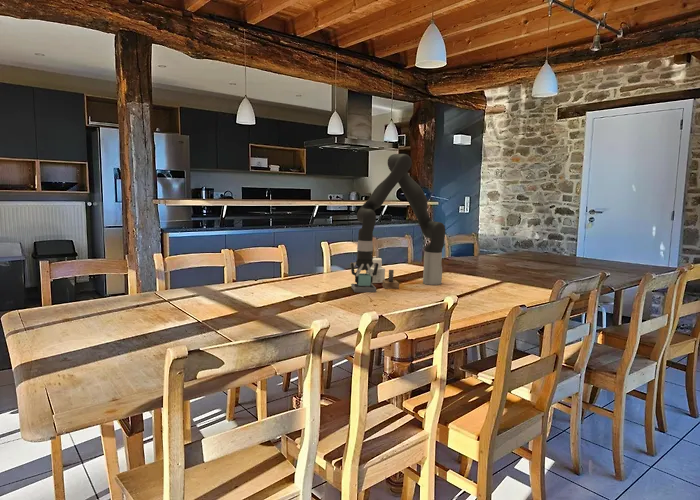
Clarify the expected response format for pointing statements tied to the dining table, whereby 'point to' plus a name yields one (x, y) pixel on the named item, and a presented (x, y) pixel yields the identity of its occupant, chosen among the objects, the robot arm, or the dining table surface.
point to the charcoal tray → (363, 288)
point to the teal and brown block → (390, 282)
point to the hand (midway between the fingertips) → (363, 283)
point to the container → (380, 272)
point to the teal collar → (364, 279)
